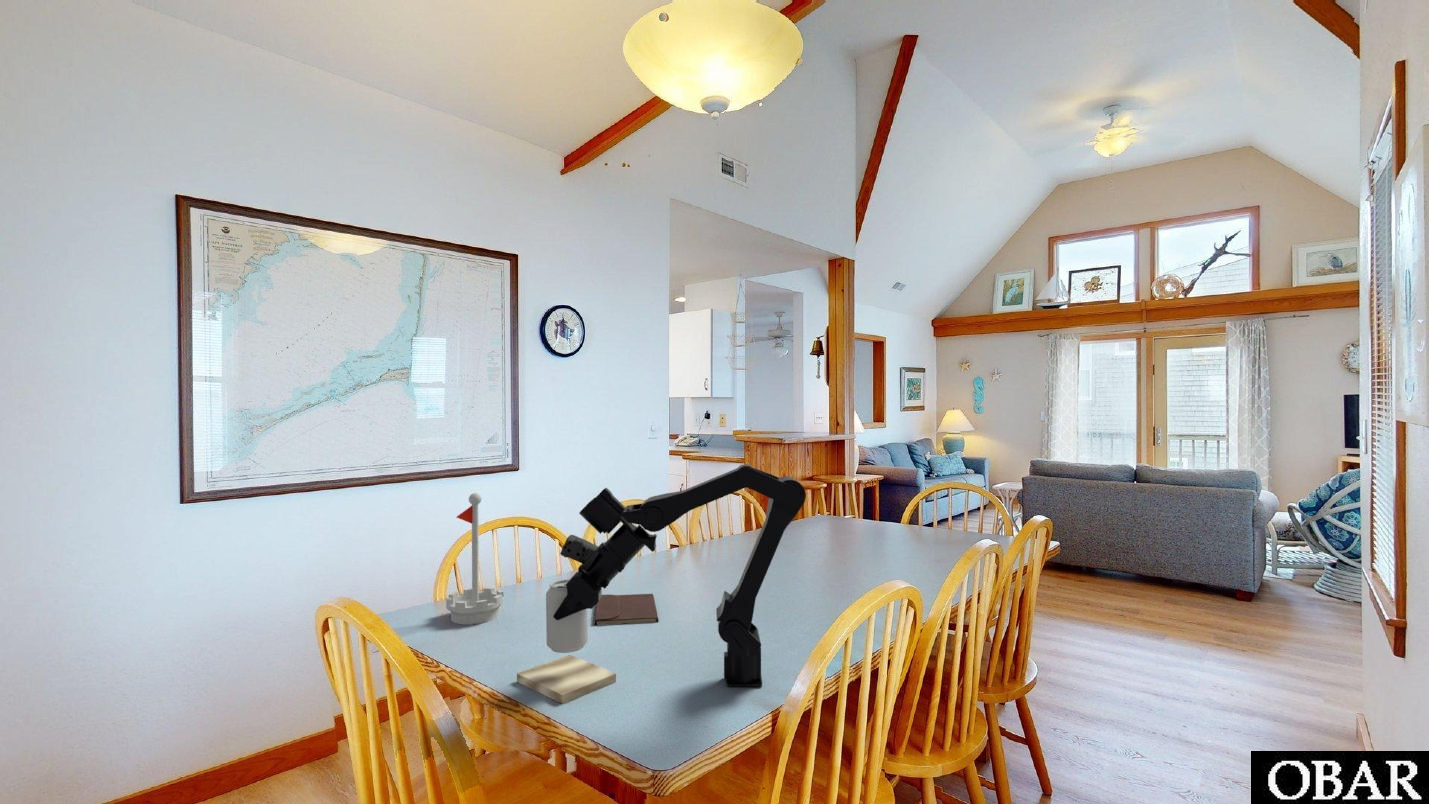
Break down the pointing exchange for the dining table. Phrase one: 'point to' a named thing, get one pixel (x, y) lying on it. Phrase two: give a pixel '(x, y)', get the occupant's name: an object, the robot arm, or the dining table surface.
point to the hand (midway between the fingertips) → (559, 611)
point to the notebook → (626, 609)
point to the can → (564, 622)
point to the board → (566, 678)
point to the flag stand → (474, 582)
